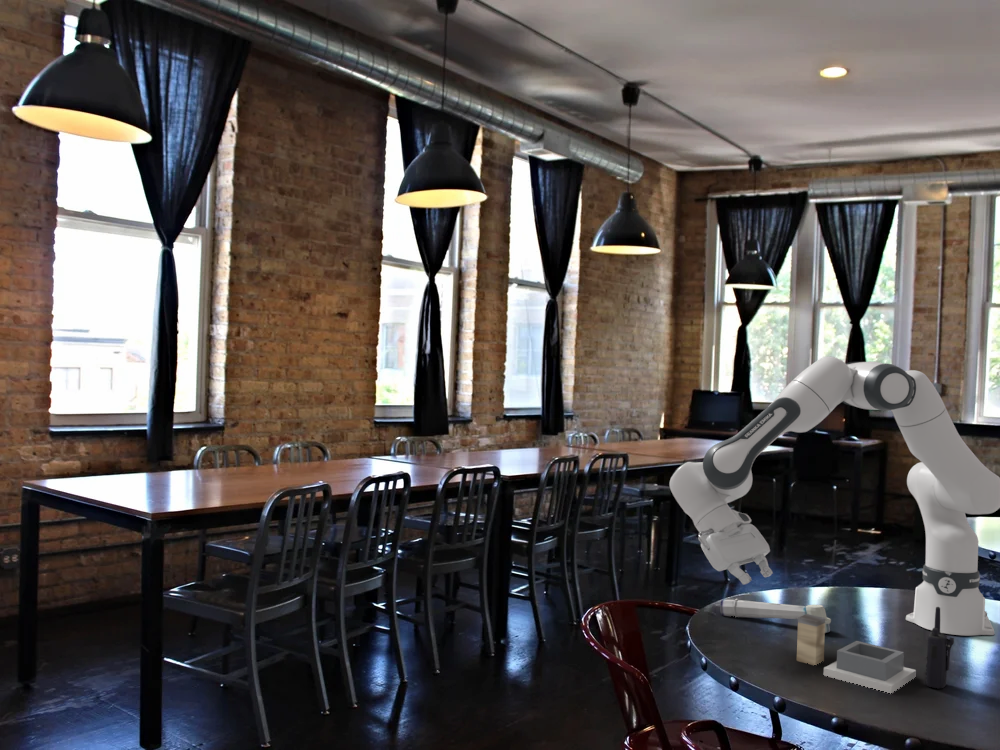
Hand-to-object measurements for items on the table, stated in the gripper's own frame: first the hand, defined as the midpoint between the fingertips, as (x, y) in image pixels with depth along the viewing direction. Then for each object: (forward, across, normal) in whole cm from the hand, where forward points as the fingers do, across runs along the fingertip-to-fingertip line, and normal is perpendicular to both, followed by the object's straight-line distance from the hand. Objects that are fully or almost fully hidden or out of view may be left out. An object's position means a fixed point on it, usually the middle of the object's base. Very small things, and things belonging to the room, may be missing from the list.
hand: (758, 579), depth 191 cm
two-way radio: (+36, +5, -15) cm, 39 cm away
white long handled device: (+7, +19, +15) cm, 25 cm away
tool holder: (+28, 0, -7) cm, 28 cm away
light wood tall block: (+19, 0, +2) cm, 19 cm away
